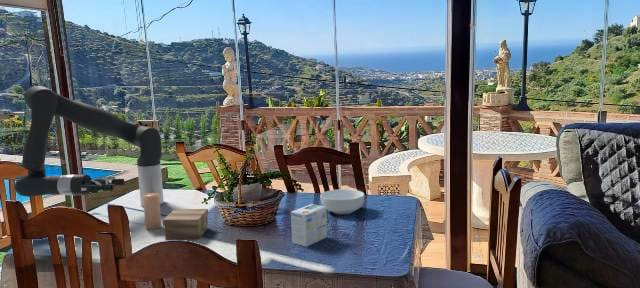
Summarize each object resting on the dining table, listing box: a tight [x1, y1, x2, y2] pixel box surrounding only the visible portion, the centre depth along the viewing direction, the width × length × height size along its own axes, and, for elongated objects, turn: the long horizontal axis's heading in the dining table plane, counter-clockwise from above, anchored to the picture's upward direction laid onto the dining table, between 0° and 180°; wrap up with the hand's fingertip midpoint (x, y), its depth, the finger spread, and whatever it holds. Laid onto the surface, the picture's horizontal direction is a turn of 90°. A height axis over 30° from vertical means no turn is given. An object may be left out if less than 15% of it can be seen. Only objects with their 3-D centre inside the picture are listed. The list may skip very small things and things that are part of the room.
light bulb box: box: [290, 203, 328, 248], centre depth 157 cm, size 11×7×11 cm, turn 141°
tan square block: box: [162, 208, 209, 241], centre depth 167 cm, size 12×12×7 cm
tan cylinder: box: [143, 193, 162, 230], centre depth 175 cm, size 6×6×12 cm
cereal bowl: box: [319, 188, 365, 215], centre depth 187 cm, size 17×17×7 cm
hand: (118, 184), depth 174 cm, fingers open, 8 cm apart
